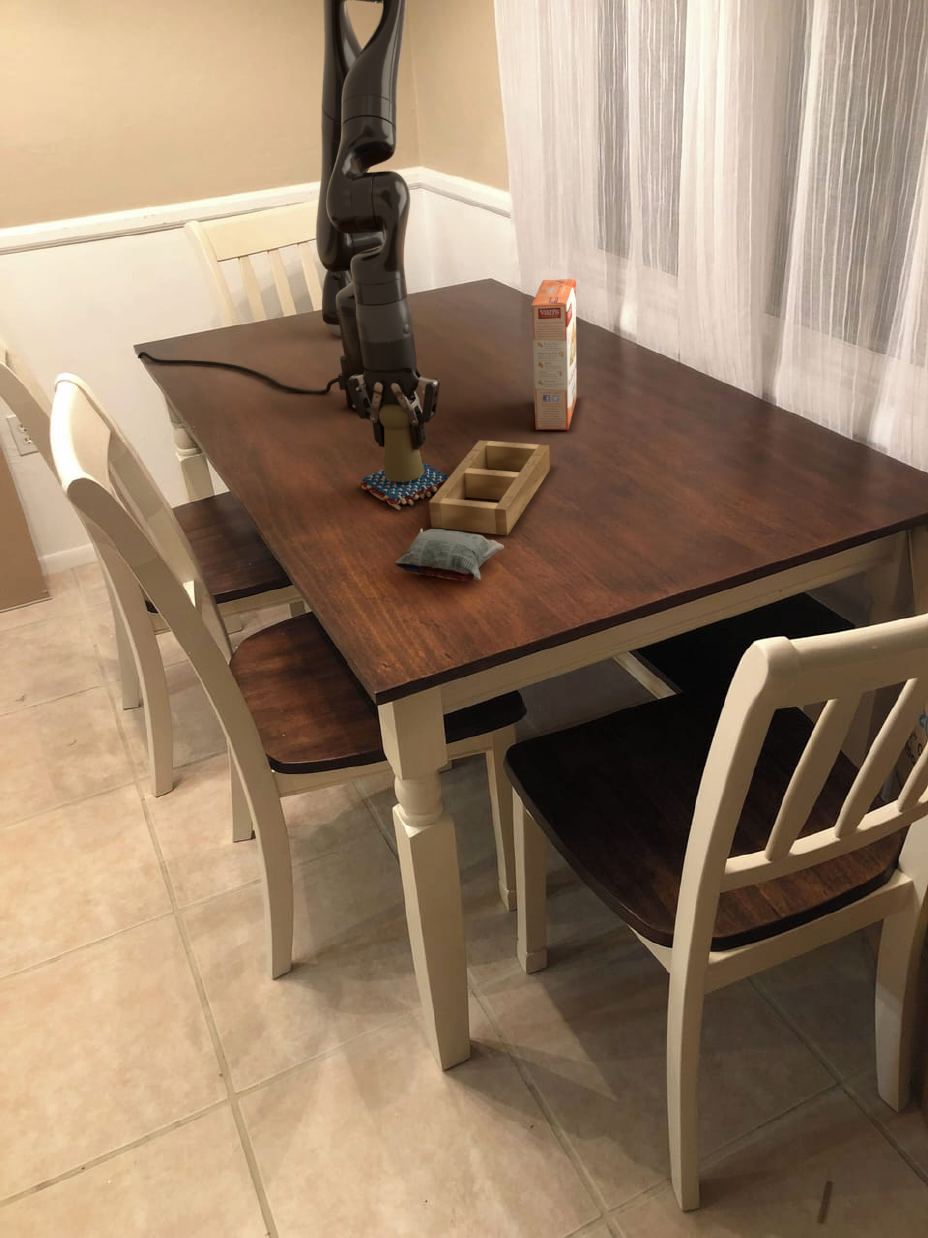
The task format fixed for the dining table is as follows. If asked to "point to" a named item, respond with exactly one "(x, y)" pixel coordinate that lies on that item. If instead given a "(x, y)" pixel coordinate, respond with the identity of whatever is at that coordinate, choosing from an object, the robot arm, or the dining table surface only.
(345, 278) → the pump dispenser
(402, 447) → the olive peg doll
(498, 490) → the spice rack
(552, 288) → the cracker box
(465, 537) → the packaged food
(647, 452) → the dining table surface
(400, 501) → the woven mat
